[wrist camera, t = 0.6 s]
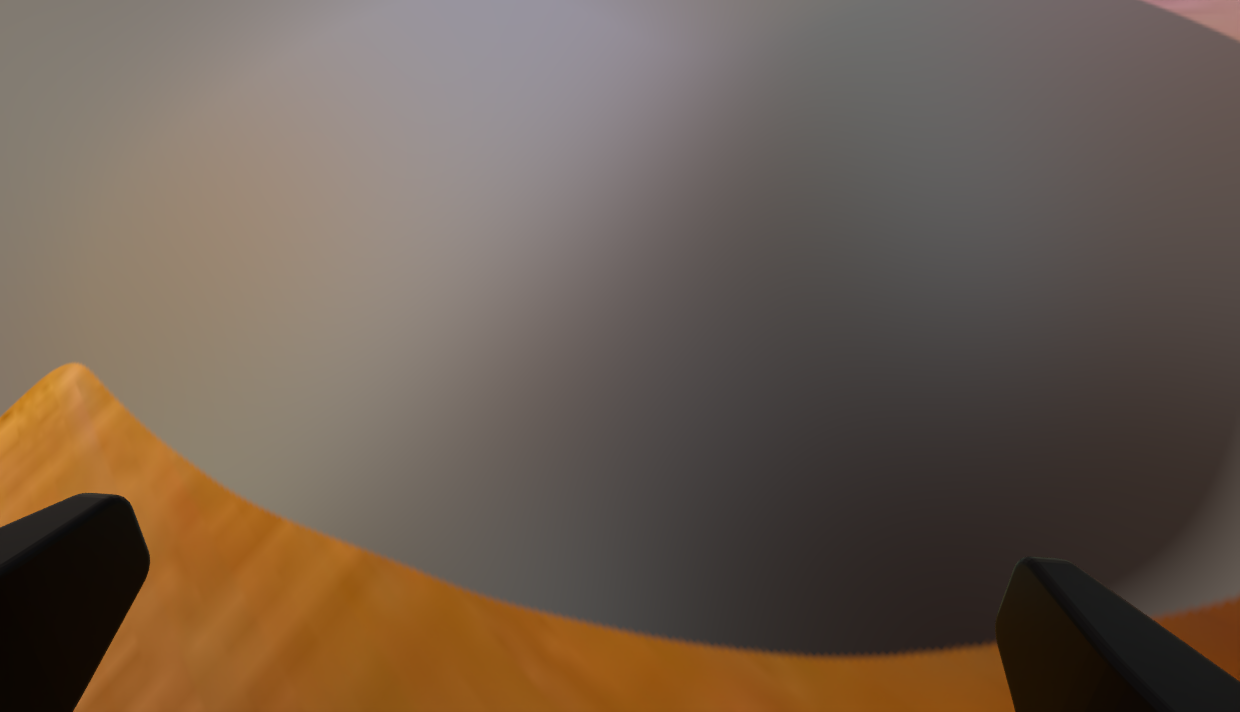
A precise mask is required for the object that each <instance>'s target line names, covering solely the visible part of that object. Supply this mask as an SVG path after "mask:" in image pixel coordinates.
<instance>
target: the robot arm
mask: <svg viewBox="0 0 1240 712" xmlns="http://www.w3.org/2000/svg"><path fill="white" fill-rule="evenodd" d="M149 566H150V555H149V551H148V548H147V545H146V543H145V540H144V537H143V535H142V532H141V529H140V527H139V524H138V521H137V518H136V516H135V513H134V510H133V508H132V506H131V504H130V502H129V501H127V500H126V499H125V498H124V497H122V496H119V495H113V494H98V493H82V494H78V495H75V496H72V497H70V498H67V499H65V500H63V501H61V502H58V503H56V504H54V505H51V506H49V507H47V508H44V509H42V510H40V511H37V512H35V513H33V514H31V515H28V516H26V517H24V518H21V519H19V520H17V521H14V522H12V523H10V524H7V525H5V526H3V527H0V712H73V710H74V709H75V707H76V705H77V703H78V702H79V700H80V698H81V697H82V695H83V693H84V691H85V689H86V688H87V686H88V684H89V682H90V680H91V678H92V677H93V675H94V673H95V671H96V669H97V667H98V666H99V664H100V662H101V660H102V658H103V656H104V655H105V653H106V651H107V649H108V647H109V645H110V644H111V642H112V640H113V638H114V636H115V634H116V633H117V631H118V629H119V627H120V625H121V623H122V622H123V620H124V618H125V616H126V614H127V613H128V611H129V609H130V607H131V605H132V603H133V602H134V600H135V598H136V596H137V594H138V592H139V591H140V589H141V587H142V585H143V583H144V581H145V579H146V577H147V574H148V571H149ZM995 632H996V640H997V644H998V648H999V652H1000V656H1001V659H1002V663H1003V667H1004V671H1005V674H1006V678H1007V682H1008V685H1009V689H1010V693H1011V697H1012V700H1013V704H1014V708H1015V711H1016V712H1240V682H1239V681H1238V680H1237V679H1235V678H1234V677H1232V676H1231V675H1230V674H1228V673H1227V672H1225V671H1224V670H1223V669H1221V668H1220V667H1218V666H1217V665H1216V664H1214V663H1213V662H1211V661H1210V660H1209V659H1207V658H1206V657H1204V656H1203V655H1202V654H1200V653H1199V652H1197V651H1196V650H1195V649H1193V648H1192V647H1190V646H1189V645H1188V644H1186V643H1185V642H1183V641H1182V640H1180V639H1179V638H1178V637H1176V636H1175V635H1173V634H1172V633H1171V632H1169V631H1168V630H1166V629H1165V628H1164V627H1162V626H1161V625H1159V624H1158V623H1157V622H1155V621H1154V620H1152V619H1151V618H1150V617H1148V616H1147V615H1145V614H1144V613H1143V612H1141V611H1140V610H1138V609H1137V608H1136V607H1134V606H1133V605H1131V604H1130V603H1129V602H1127V601H1126V600H1124V599H1123V598H1121V597H1120V596H1119V595H1117V594H1116V593H1115V592H1113V591H1112V590H1110V589H1109V588H1107V587H1106V586H1105V585H1103V584H1102V583H1101V582H1099V581H1098V580H1096V579H1095V578H1093V577H1092V576H1091V575H1089V574H1088V573H1086V572H1085V571H1083V570H1082V569H1081V568H1079V567H1078V566H1077V565H1075V564H1073V563H1072V562H1070V561H1068V560H1064V559H1058V558H1044V557H1025V558H1022V559H1020V560H1019V561H1018V562H1017V564H1016V565H1015V567H1014V569H1013V572H1012V575H1011V578H1010V580H1009V583H1008V586H1007V589H1006V592H1005V594H1004V597H1003V599H1002V602H1001V605H1000V607H999V610H998V613H997V617H996V623H995Z"/></svg>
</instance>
